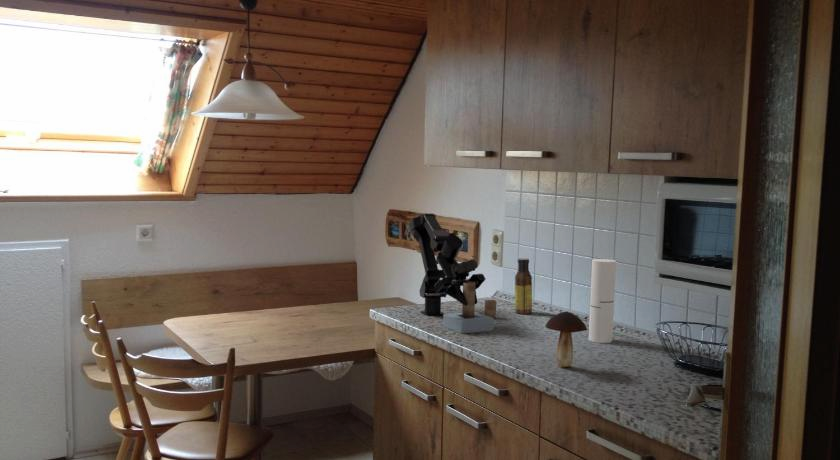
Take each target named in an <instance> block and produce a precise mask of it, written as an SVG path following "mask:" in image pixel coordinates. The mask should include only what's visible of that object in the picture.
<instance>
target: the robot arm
mask: <svg viewBox="0 0 840 460" xmlns="http://www.w3.org/2000/svg"><path fill="white" fill-rule="evenodd" d="M409 231H410V232H411V234H412V237H413V238H414V239H415V240H416V241H417V242H418V246H419V251H420V254H421V260H422V264H423V268H424V274H425V275H424V277H423V279H422V283H421V284H420V288H419V297H421V298H423V299H424V310H421V311H420V313H422V314H423V315H426V316H442V315H443V314H445V312H443V311H441V310H442V298H447V296H449V297H451V298H452V299H454V300H456V301H457V302H459V303H461V305H462V304H463V305H465V306H466V305H467V304H468V303H467V301H466V299H465V297H464V295H463V290H462V289H461V287H463V282H475V305H477V304H478V298H477V297H478V296H477V289H479V288H480V286H481V285H482V284H484V282H485V281H486V277H485V275H484V274H483V273H473V274H472V275H471V276H470V273H472V272H474V271H476V269H477V268H479V267H478V263H477V261H476V259H474V258H472V259H470V260H467V261H466V260H465V261H462V262H458V260H457V259H456V258H457V257H458V255H459V253H460V251H461V249H462V247H463V240H462V239H461V238H460V237H459V236H458V235H456V234H455V232H447V231H444V230H443V228H442V227H441V225H440V223H439V222H438V220H437V217H436V214H435V213H426V212H425V213H421V214H420V215H419V216H415V217H413V218H412V219H411V220H410V223H409ZM435 253H437V256H436V254H435ZM438 265H439V267H440V269H439V268H438ZM469 276H470V277H469ZM467 277H469V278H467Z"/></svg>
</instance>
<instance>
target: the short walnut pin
mask: <svg viewBox="0 0 840 460" xmlns="http://www.w3.org/2000/svg"><path fill="white" fill-rule="evenodd" d="M483 315H486V316H489V317H491V318H494V319H496V318H497V317H496V316H497V300H496V299H485V300H484V313H483Z"/></svg>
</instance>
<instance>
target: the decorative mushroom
mask: <svg viewBox="0 0 840 460" xmlns="http://www.w3.org/2000/svg"><path fill="white" fill-rule="evenodd" d="M545 328H546V329H548V330H553V331H556V332H557V331H558V332H559V337H558V342H557V347H556V348H557V349H556V351H557V352H556V363H557V364H558V365H559V366H560V367H562V368H568V367H571V365H572V364H573V359H574V357H573V356H574V348H573V347H574V346H573V338H572V337H573V335H572V334H573V333H577V332H578V333H581V332H585V331H588V329H587V326H586V324H585V323H584V321H583V320H582V319H581V318H580V317H578V316H577V315H576V314H574V313H572V312H569V311H562V312H559V313H557V314H555V315H553V316H551V318H549V319H548V321H547V322H546V323H545Z"/></svg>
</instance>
